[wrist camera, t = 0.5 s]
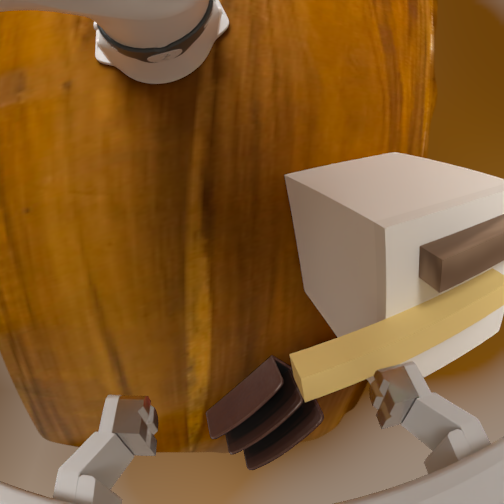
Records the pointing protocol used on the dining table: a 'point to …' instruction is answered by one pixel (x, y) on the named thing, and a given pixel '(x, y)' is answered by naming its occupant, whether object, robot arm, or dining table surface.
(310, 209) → the off-white stand
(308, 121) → the dining table surface
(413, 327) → the ochre bar
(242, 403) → the letter holder
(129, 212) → the dining table surface
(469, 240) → the walnut bar
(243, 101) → the dining table surface
